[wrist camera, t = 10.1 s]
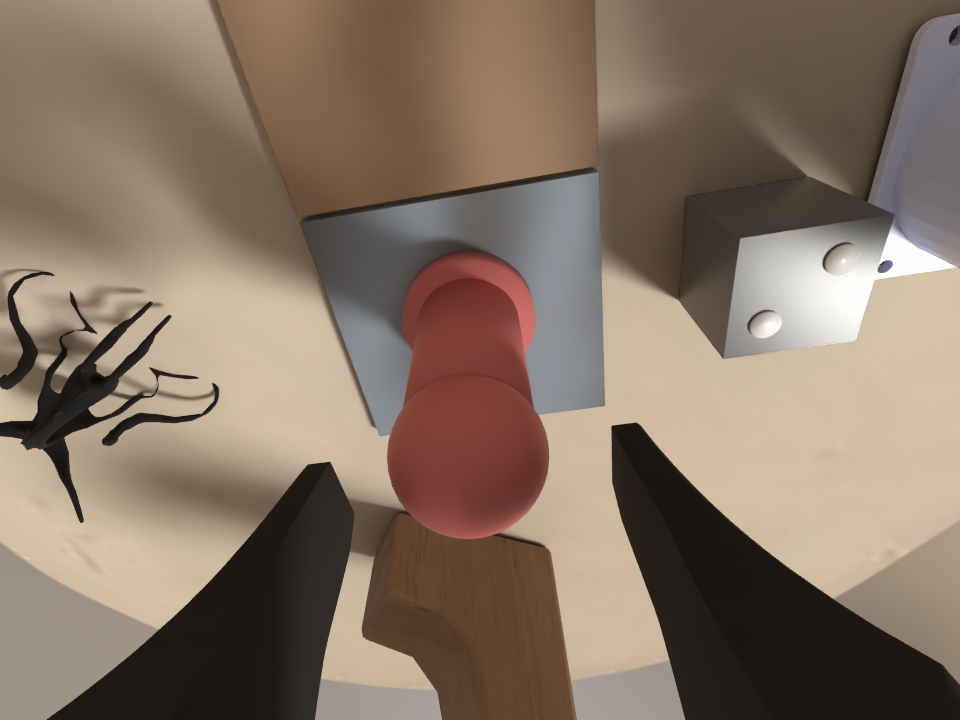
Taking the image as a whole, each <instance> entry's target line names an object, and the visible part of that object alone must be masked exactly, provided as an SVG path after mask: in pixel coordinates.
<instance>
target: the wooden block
mask: <svg viewBox="0 0 960 720" xmlns="http://www.w3.org/2000/svg"><path fill="white" fill-rule="evenodd" d="M362 633H363V637H364V638H366V639H367V640H369V641H372V642H375V643H377V644H380V645H382V646H385V647H388V648H390V649H393V650H396V651H398V652H401V653H404V654H406V655H409V656H411V657H413V658H414V660H415V661H416V662H417V664H418V665H419V667H420V668H421V669H422V671H423V672H424V674H425V675H426V677H427V678H428V679H429V681H430V682H431V684H432V685H433V687H434V688H435V689H436V691H437V692H438V698H439V704H440V709H441V715H442V720H577V719H576V712H575V706H574V699H573V694H572V686H571V680H570V673H569V667H568V660H567V654H566V647H565V641H564V634H563V628H562V622H561V615H560V609H559V602H558V596H557V590H556V583H555V577H554V570H553V564H552V558H551V553H550V551H549V550H548V549H547V548H544V547H540V546H536V545H532V544H528V543H524V542H519V541H515V540H511V539H507V538H503V537H499V536H495V535H491V536H488V537H484V538H477V539H458V538H452V537H448V536H444V535H441V534H439V533H436V532H434V531H432V530H430V529H428V528H427V527H425V526H423V525H422V524H421V523H419V522H418V521H417V520H416V519H415V518H413V517H412V516H411V515H407V514H403V513H402V514H397V515H396V516H395V518H394V519H393V521H392V523H391V525H390V527H389V529H388V532H387V534H386V536H385V538H384V540H383V542H382V544H381V546H380V549H379V551H378V553H377V555H376V557H375V559H374V563H373V569H372V574H371V580H370V585H369V591H368V596H367V602H366V608H365V613H364V619H363V624H362Z"/></svg>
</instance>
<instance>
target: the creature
mask: <svg viewBox="0 0 960 720" xmlns="http://www.w3.org/2000/svg"><path fill="white" fill-rule="evenodd" d="M39 275H51V276H55V275H54V274H52V273H49V272H39V273H32V274H30V275H27V276H24V277H23V278H21V279H20V280H18V281H17V282H16V283H14V285H13V286H12V288H11V289H10V291H9V293H8V297H7V298H8V308H9V318H10V321H11V323H12V325H13V327H14V330H15V332H16V334H17V336H18V338H19V341H20V343H21V346H22V349H23V354H22V357H21V359H20V360H19V362H18V366H17V368H16V369H15V370H14V371H13V372H12V373H10V374H9V375H8V376H7V375H3V376H2V377H1V378H0V387H1V388H2V389H6V390H8V389H11V388H12V387H13V386H15V385H16V384H17V383H19V382H20V381H21V380H22V379H23V378H24V377H25V376H26V375H27V374H28V373H29V371H30V370H31V369H32V367H33V365H34V362H35V360H36V357H37V355H38V350H37V348H36V346H35V344H34V343H33V341H32V339H31V337H30V335H29V334H28V332H27V331H26V329H25V328H24V327H23V325H22V324H21V322H20V319H19V316H18V312H17V309H16V305H15V302H14V298H13V295H14V294H15V292H16V291H17V290H18V288H19V287H20V285H21V284H22V282H23V281H24V280H25V279H29V278H32V277H36V276H39ZM70 298H71V303H72V305H73V306H74V308H75V310H76V312H77V313H78V315H79V317H80V318H81V320H82V321H83V323H84V324H85V326H86V328H85V329H84V330H78V331H88V332H91V333H95V334H97V333H96V332H95V331H94V330H93V329H92V328H91V327H90V326H89V325H88V323H87V322H86V321H85V320H84V318H83V317H82V316H81V314H80V312H79V310H78V307H77V304H76V301H75V298H74V296H73V294H72V293H71V292H70ZM152 304H153V303H152V302H151V301H150V302H149V303H148V304H146V305H145V306H144V307H143V308H142V309H141V310H139V311H138V312H137V313H136V314H135V315H134V316H133V317H132V318H131V319H128V320H126V321H124V322H122V323H121V324H119V325H118V326H117V327H115V328H114V329H113V330H112V331H111V332H110V333H109V334H108V335H107V336H106V337H105V338H104V339H103V340H102V341H101V342H100V343H99V344H98V346H97V347H96V348H95V349H94V350H93V351H92V352H91V354H90V355H89V356H88V357H87V358H86V359H85V361H84V362H83V363H82V364H80V365H79V366H78V367H76V369H75V370H74V371H73V373H72V374H71V375H70V376H69V378H68V380H67V382H66V384H65V385H64V387H63V389H62V391H61V393H56V392H54V391H53V390H52V389H51V386H50V383H51V379H52V376H53V373H54V372H55V371H56V369H57V368H58V367H59V366H60V364H61V363H62V362H63V360H64V359H65V358H66V356H67V350H66V348H65V347H64V346H63V343H62V340H61V339H62V337H63V336H65V335H67V334H69V333H71V332H74V331H70V332H68V333H66V334H64V335H63V336H61V337H60V339H59V341H60V345H61V349H62V351H61V353H60V354H59V356H58V357H57V358H56V360H55V361H54V362H53V363H52V364H51V365H50V367H49V368H48V369H47V372H46V374H45V381H44V384H43V388H42V390H41V393H40V396H39V399H38V412H37V414H36V416H35V418H34V419H33V421H9V422H4V423H0V436H4V437H13V438H19V439H23V440H22V442H21V444H23V445H24V446H25V448H26V449H27V450H29V449H32V448H38V449H43V450H44V451H45V452H46V453H47V454H48V455H49V456H50V458H51V460H52V461H53V463H54V465H55V467H56V470H57V472H58V475H59V477H60V479H61V481H62V482H63V484H64V485H65V487H66V489H67V491H68V493H69V495H70V498H71V500H72V503H73V505H74V508H75V511H76V514H77V516H78V519H79V521H80V523H82V522H84V519H83V515H82V511H81V507H80V504H79V500H78V496H77V493H76V490H75V488H74V486H73V483H72V480H71V474H70V467H69V452H68V449H67V446H66V442H65V439H64V437H65V436H67V435H69V434H70V433H72V432H75V431H78V430H81V429H85V428H88V427H90V426H92V425H94V424H97V423H99V422H101V421H104V420H107V419H109V418H112V417H115V416H117V415H119V414H121V413H123V412H124V411H125V410H127V409H128V408H129V407H130V406H132V405H133V404H134V403H136V402H137V401H138V400H140V399H142V398H150V397H153V396H154V395H155V394H153V395H152V396H142V395H138V396H135V397H133V398H132V399H130V400H129V401H127V402H126V403H125V404H124V405H123V406H121V407H120V408H119V409H117V410H116V411H115V412H113V413H112V414H109V415H106V416H103V417H95V416H94V415H92V414H91V412H90V411H89V410H88V408H89V407H90V406H92V405H94V404H95V403H97V402H99V401H100V400H102V399H104V398H105V397H107V396H108V395H109V394H110V393H112V392H113V391H114V390H115V389H116V387H117V385H118V382H119V380H118V379H119V378H120V377H121V376H122V375H123V374H124V373H125V372H127V371H128V370H129V369H130V368H131V367H132V366H133V365H135V364H136V363H137V362H138V361H139V360H140V359H141V358H142V357H143V356H144V355H145V354H146V353H147V352H148V350H149V347H150V346H151V344H152V343H153V341H154V338H155V335H156V334H157V333H158V332H159V331H160V330H161V329H162V327H163V326H164V325H165V324H166V323H167V322H168V321H169V320H170V318H171V317H172V316H170V315H168V316H167V317H166V318H165V319H164V320H163V321H162V322H161V323H160V324H159V325H158V326H157V327H156V328H155V329H154V330H153V331H152V332H151V333H150V334H149V335H148V336H147V338H146V339H145V340H144V341H143V342H142V343H141V344H140V345H139V346H138V348H137V349H136V350H135V351H134V352H133V353H131V354H130V355H128V356H127V357H126V358H125V360H124V361H123V362H122V363H121V364H120V365H119V366H118V367H117V368H116V369H115V371H114V372H113V373H112V374H111V375H109V376H106V377H104V376H102V375H101V374H99V373H98V372H96V367H97V365H96V364H95V362H96V361H97V360H98V359H99V358H100V357H101V356H102V355H103V354H104V353H106V352H107V351H108V350H109V349H110V348H112V347H113V345H114V344H115V343H116V342H117V340H118V339H119V338H120V337H121V336H122V335H123V334H124V333H125V332H126V330H127V328H128V327H129V326H130V325H132V324H133V323H134V322H135V321H136V320H137V319H138V318H139V317H141V316H142V315H143V314H144V313H145V311H146V310H147V309H148V308H149V307H150V306H151V305H152ZM76 331H77V330H76ZM149 369H151V371H152V372H153V373H154V374H155V375H156V378H157V381H158V377H159V376H160V375H163V376H169V377H175V378H183V379H198V377H195V376H175V375H170V374H167V373H163V372H160V371H157V370H154V369H152V368H149ZM212 384H213V387H214V389H215V399H214V402H213V403H212V404H211V405H210V406H209V407H208V408H207V409H206V410H205V411H204V412H203V413H202V414H195V415H188V416H180V417H171V416H165V415H159V414H147V413H137V414H135V415H133V416H131V417H129V418H127V419H125V420H123V421H122V422H120V423H119V424H118V425H117V426H116V427H115V428H114V429H113V430H111V431H110V432H109V434H108V435H107V436H106V437H104V438H103V439H102V443H103V445H106V446H111V445H113V444H115V443H116V442H117V440H118V437H119V436H120V435H121V434H122V433H123V432H124V431H125V430H127V429H131V428H132V427H134V426H136V425H137V424H140V423H143V422H162V423H179V422H186V421H192V420H195V419H197V418H199V417H201V416H203V415H206V414H207V413H209V412H210V411H211V410H212V409H213V407H214V406H215V405H216V403H217V401H218V398H219V388H218V386H217V385H216V384H214V383H212ZM158 386H159V385H158ZM158 386H157V389H156V392H157V390H158ZM156 392H155V393H156Z"/></svg>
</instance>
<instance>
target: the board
mask: <svg viewBox="0 0 960 720" xmlns="http://www.w3.org/2000/svg"><path fill="white" fill-rule="evenodd" d="M217 2H218V5H219V8H220V11H221V13H222V16H223V19H224V21H225V24H226V27H227V29H228V32H229V35H230V37H231V40H232V43H233V45H234V48H235V51H236V53H237V56H238V59H239V61H240V64H241V67H242V69H243V72H244V75H245V77H246V80H247V83H248V85H249V88H250V91H251V93H252V96H253V99H254V102H255V104H256V107H257V110H258V112H259V115H260V118H261V120H262V123H263V126H264V128H265V131H266V134H267V136H268V139H269V142H270V144H271V147H272V150H273V152H274V155H275V158H276V160H277V163H278V166H279V168H280V171H281V174H282V176H283V179H284V182H285V184H286V187H287V190H288V193H289V195H290V198H291V201H292V203H293V206H294V209H295V211H296V214H297V217H302V216H308V215H314V214H320V213H325V212H331V211H337V210H343V209H349V208H355V207H360V206H366V205H372V204H378V203H384V202H390V201H395V200H401V199H407V198H413V197H419V196H425V195H431V194H436V193H442V192H448V191H454V190H460V189H466V188H471V187H477V186H483V185H489V184H495V183H501V182H506V181H512V180H518V179H524V178H530V177H536V176H541V175H547V174H553V173H559V172H565V171H571V170H577V169H582V168H588V167H594V166H599V157H598V119H597V80H596V41H595V2H594V0H217ZM300 225H301V227H302V230H303V233H304V235H305V238H306V241H307V243H308V246H309V249H310V251H311V254H312V257H313V259H314V262H315V265H316V267H317V270H318V273H319V275H320V278H321V281H322V284H323V286H324V289H325V292H326V294H327V297H328V300H329V302H330V305H331V308H332V310H333V313H334V316H335V318H336V321H337V324H338V326H339V329H340V332H341V334H342V337H343V340H344V342H345V345H346V348H347V350H348V353H349V356H350V358H351V361H352V364H353V366H354V369H355V372H356V375H357V377H358V380H359V383H360V385H361V388H362V391H363V393H364V396H365V399H366V401H367V404H368V407H369V409H370V412H371V415H372V417H373V420H374V423H375V425H376V428H377V431H378V433H379V436H385V435H390V434H391V431H392V427H393V425H394V423H395V421H396V419H397V417H398V415H399V413H400V412H401V410H402V409H403V404H404V399H405V393H406V387H407V382H408V376H409V371H410V365H411V359H412V354H413V351H412V350H411V349H410V347H409V345H408V343H407V341H406V339H405V336H404V332H403V328H402V312H403V307H404V303H405V299H406V295H407V291H408V289H409V286H410V284H411V282H412V281H413V279H414V277H415V276H416V275H417V273H418V272H419V271H420V270H421V269H422V268H423V267H424V266H425V265H427V264H428V263H430V262H431V261H432V260H434V259H436V258H438V257H440V256H443V255H445V254H448V253H452V252H457V251H466V250H467V251H480V252H485V253H489V254H492V255H495V256H497V257H499V258H501V259H503V260H505V261H506V262H508V263H509V264H511V265H512V266H513V267H514V268H515V269H516V270H517V271H518V272H519V273H520V274H521V275H522V277H523V278H524V279H525V281H526V283H527V285H528V287H529V290H530V293H531V296H532V300H533V305H534V310H535V316H536V324H535V331H534V335H533V338H532V340H531V343H530V345H529V346H528V348H527V350H526V351H525V358H526V364H527V370H528V376H529V382H530V388H531V394H532V400H533V405H534V409H535V411H536V412H537V414H538V415H541V414H548V413H556V412H563V411H571V410H578V409H585V408H593V407H600V406H605V391H604V352H603V313H602V274H601V235H600V196H599V172H598V171H597V170H596V169H594V170H589V171H583V172H577V173H571V174H565V175H559V176H553V177H548V178H542V179H536V180H530V181H524V182H518V183H512V184H507V185H501V186H495V187H489V188H483V189H477V190H471V191H466V192H460V193H454V194H448V195H442V196H436V197H430V198H425V199H419V200H413V201H407V202H401V203H395V204H389V205H384V206H378V207H372V208H366V209H360V210H354V211H348V212H343V213H337V214H331V215H325V216H319V217H313V218H307V219H303V220H302V221H301V222H300Z"/></svg>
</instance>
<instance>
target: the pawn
mask: <svg viewBox="0 0 960 720" xmlns="http://www.w3.org/2000/svg"><path fill="white" fill-rule="evenodd" d="M535 324H536V316H535V310H534V305H533V300H532V296H531V293H530V290H529V287H528V285H527V283H526V281H525V279H524V278H523V277H522V275H521V274H520V273H519V272H518V271H517V270H516V269H515V268H514V267H513V266H512V265H511V264H509V263H508V262H506V261H505V260H503V259H501V258H499V257H497V256H495V255H492V254H489V253H485V252H480V251H467V250H466V251H457V252H452V253H448V254H445V255H443V256H440V257H438V258H436V259H434V260H432V261H431V262H430V263H428V264H427V265H425V266H424V267H423V268H422V269H421V270H420V271H419V272H418V273H417V275H416V276H415V277H414V279H413V281H412V282H411V284H410V286H409V289H408V291H407V295H406V299H405V303H404V307H403V312H402V328H403V332H404V336H405V339H406V341H407V343H408V345H409V347H410V349H411V350H412V351H413V354H412V359H411V365H410V371H409V376H408V382H407V387H406V393H405V399H404V404H403V409H402V410H401V412H400V413H399V415H398V417H397V419H396V421H395V423H394V425H393V427H392V431H391V434H390V438H389V442H388V452H387V462H388V472H389V476H390V480H391V483H392V487H393V489H394V491H395V493H396V495H397V497H398V499H399V501H400V502H401V504H402V505H403V506H404V508H405V509H406V510H407V512H408V513H409V514H410V515H411V516H412V517H413V518H415V519H416V520H417V521H418V522H419V523H421V524H422V525H423V526H425V527H427V528H428V529H430V530H432V531H434V532H436V533H439V534H441V535H444V536H448V537H452V538H458V539H477V538H484V537H488V536H491V535H494V534H497V533H499V532H501V531H503V530H505V529H507V528H509V527H511V526H512V525H514V524H515V523H516V522H518V521H519V520H520V519H521V518H522V517H523V516H524V515H525V514H526V513H527V512H528V511H529V510H530V508H531V507H532V506H533V505H534V503H535V502H536V500H537V499H538V497H539V495H540V493H541V491H542V489H543V486H544V483H545V480H546V476H547V472H548V465H549V448H548V441H547V436H546V432H545V429H544V426H543V424H542V422H541V420H540V418H539V416H538V414H537V412H536V411H535V409H534V405H533V400H532V394H531V388H530V382H529V376H528V370H527V364H526V358H525V351H526V350H527V348H528V346H529V345H530V343H531V340H532V338H533V335H534V331H535Z"/></svg>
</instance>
